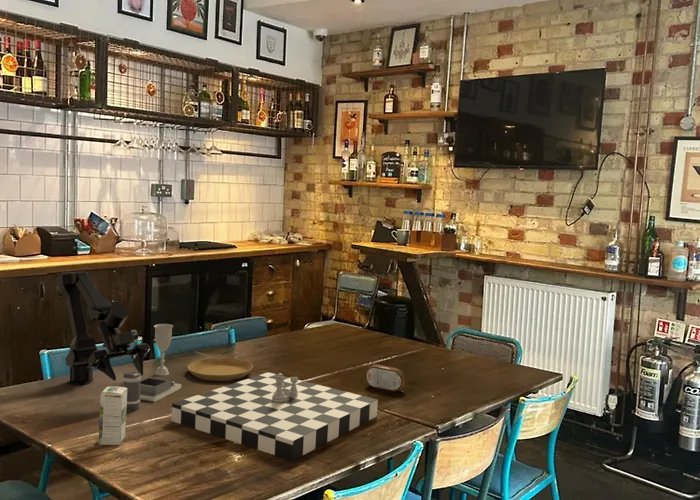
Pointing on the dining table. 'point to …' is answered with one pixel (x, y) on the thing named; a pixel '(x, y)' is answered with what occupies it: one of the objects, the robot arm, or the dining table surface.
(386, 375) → the tin
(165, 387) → the white base plate
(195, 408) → the checkerboard
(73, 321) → the robot arm
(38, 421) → the dining table surface
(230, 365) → the plant saucer
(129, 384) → the grey rounded cylinder
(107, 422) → the syrup box
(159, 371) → the chalice
